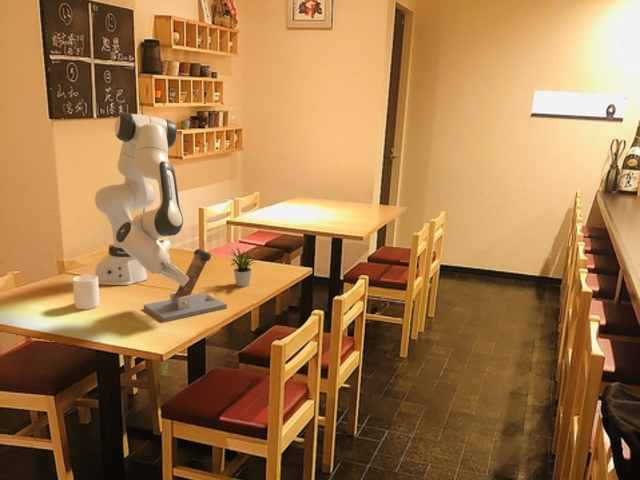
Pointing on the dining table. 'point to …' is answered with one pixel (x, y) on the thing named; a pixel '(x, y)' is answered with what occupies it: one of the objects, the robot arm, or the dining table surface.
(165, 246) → the white knot sculpture
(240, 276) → the house plant
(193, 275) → the lever
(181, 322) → the dining table surface
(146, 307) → the press base
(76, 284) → the mug
